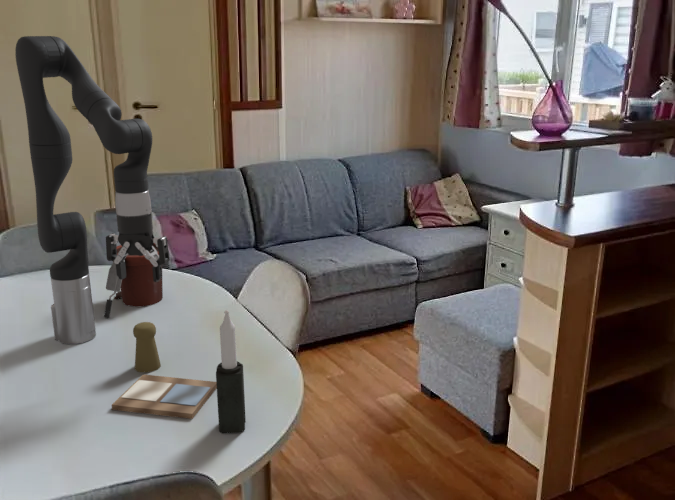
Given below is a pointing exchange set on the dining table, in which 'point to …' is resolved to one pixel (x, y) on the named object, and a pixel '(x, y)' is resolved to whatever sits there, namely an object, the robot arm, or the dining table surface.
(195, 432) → the dining table surface
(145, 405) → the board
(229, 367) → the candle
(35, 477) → the dining table surface
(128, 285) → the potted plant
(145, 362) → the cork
